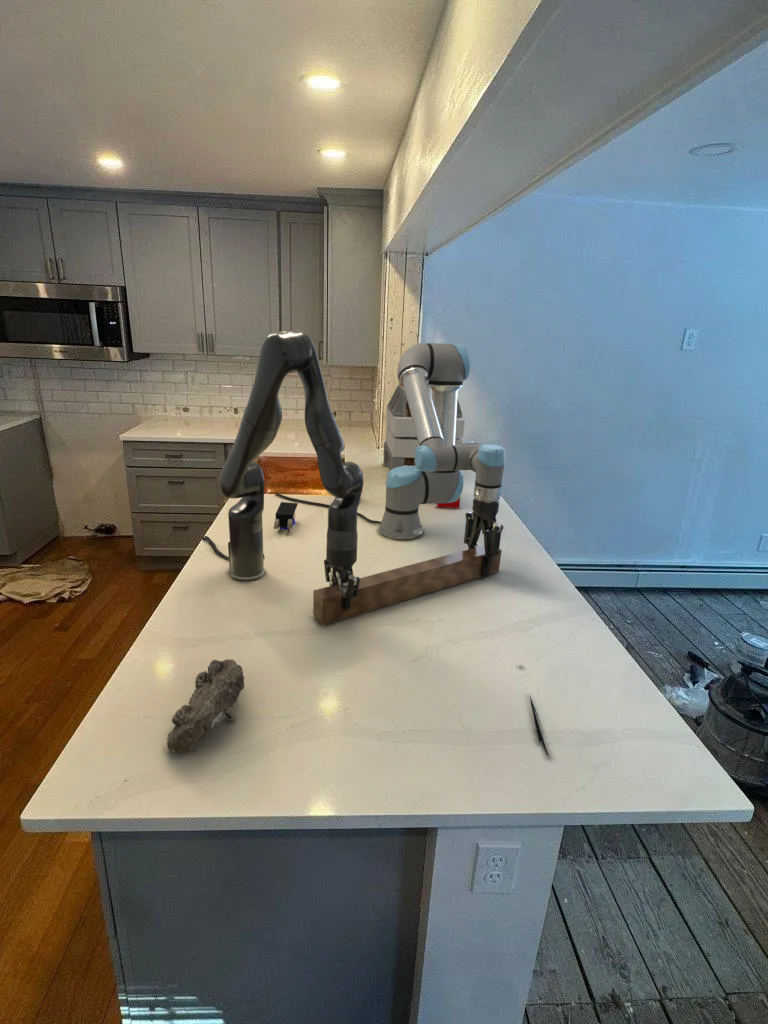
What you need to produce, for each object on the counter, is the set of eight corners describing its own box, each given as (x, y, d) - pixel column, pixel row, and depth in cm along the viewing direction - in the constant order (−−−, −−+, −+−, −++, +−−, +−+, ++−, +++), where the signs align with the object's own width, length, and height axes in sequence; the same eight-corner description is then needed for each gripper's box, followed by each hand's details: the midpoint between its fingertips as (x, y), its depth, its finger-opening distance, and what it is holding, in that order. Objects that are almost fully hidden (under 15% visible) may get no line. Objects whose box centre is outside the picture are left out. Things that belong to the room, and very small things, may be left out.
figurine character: (293, 539, 194) (298, 519, 208) (292, 519, 191) (298, 500, 204) (273, 538, 194) (280, 518, 207) (272, 519, 191) (279, 500, 204)
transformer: (382, 463, 289) (386, 382, 275) (445, 464, 293) (451, 384, 279) (390, 482, 257) (394, 392, 243) (460, 483, 261) (468, 394, 247)
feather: (521, 671, 128) (526, 665, 127) (548, 760, 101) (555, 753, 101) (514, 667, 128) (520, 661, 127) (540, 755, 101) (547, 748, 101)
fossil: (192, 660, 117) (244, 628, 112) (224, 691, 120) (276, 661, 115) (142, 746, 98) (202, 712, 93) (182, 779, 101) (242, 748, 96)
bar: (487, 565, 177) (490, 543, 175) (499, 571, 174) (501, 549, 171) (313, 616, 144) (313, 590, 141) (322, 625, 140) (323, 599, 138)
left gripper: (314, 536, 142) (314, 596, 148) (343, 557, 131) (342, 621, 137) (340, 530, 146) (339, 589, 152) (370, 551, 135) (368, 613, 141)
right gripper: (455, 491, 168) (449, 562, 177) (499, 510, 155) (490, 586, 163) (474, 488, 173) (466, 557, 181) (518, 506, 159) (508, 580, 167)
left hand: (340, 604), depth 145 cm, fingers closed on bar, 5 cm apart
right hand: (478, 571), depth 172 cm, fingers closed on bar, 5 cm apart
